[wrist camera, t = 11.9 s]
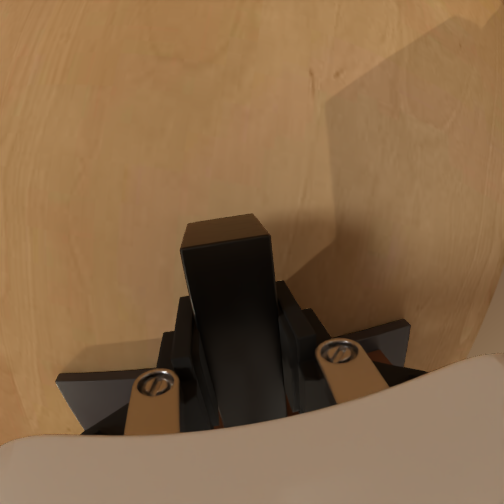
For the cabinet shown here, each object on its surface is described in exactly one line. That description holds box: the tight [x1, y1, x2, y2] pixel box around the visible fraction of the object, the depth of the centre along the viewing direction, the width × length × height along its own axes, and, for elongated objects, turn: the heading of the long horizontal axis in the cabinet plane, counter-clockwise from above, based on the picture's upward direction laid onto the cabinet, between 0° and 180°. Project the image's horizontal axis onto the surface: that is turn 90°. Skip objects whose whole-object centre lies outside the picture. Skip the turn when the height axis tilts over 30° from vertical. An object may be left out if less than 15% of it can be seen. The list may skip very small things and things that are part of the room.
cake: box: [55, 319, 411, 430], centre depth 15 cm, size 15×20×6 cm
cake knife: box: [180, 214, 288, 428], centre depth 12 cm, size 18×2×4 cm, turn 7°
